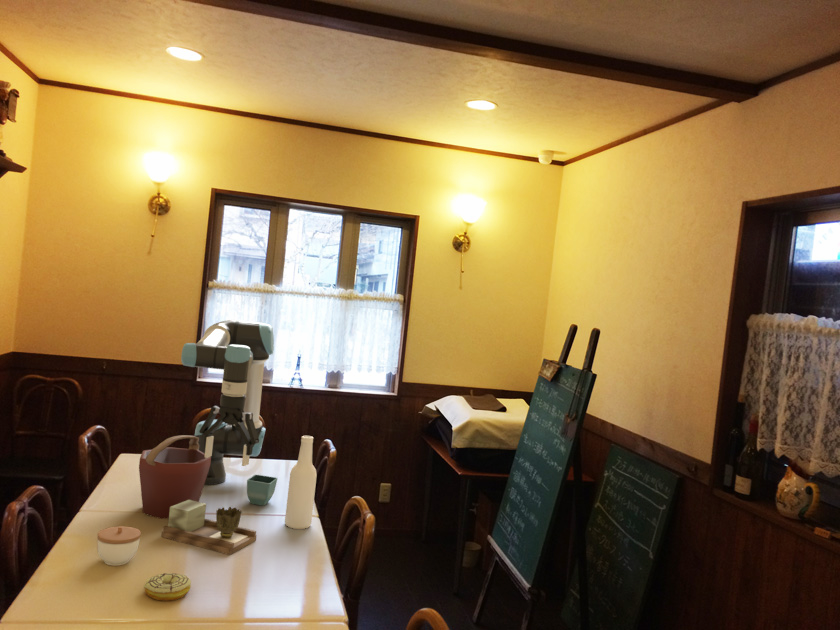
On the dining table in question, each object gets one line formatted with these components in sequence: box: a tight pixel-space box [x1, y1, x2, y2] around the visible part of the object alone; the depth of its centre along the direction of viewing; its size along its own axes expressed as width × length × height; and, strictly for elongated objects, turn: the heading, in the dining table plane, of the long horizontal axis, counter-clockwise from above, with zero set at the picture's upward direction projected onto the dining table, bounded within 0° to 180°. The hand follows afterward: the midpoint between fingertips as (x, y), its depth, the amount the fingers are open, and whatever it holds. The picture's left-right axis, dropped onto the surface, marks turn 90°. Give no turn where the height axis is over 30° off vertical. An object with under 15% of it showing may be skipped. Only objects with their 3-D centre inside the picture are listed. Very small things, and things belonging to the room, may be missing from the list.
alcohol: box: [284, 435, 317, 530], centre depth 225 cm, size 9×9×30 cm
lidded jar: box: [96, 525, 142, 567], centre depth 181 cm, size 11×11×9 cm
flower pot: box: [246, 474, 278, 506], centre depth 243 cm, size 9×9×9 cm
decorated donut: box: [143, 572, 192, 602], centre depth 167 cm, size 10×11×4 cm
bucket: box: [138, 434, 211, 519], centre depth 225 cm, size 24×22×25 cm
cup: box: [215, 506, 242, 538], centre depth 203 cm, size 8×7×8 cm
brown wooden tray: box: [161, 500, 257, 556], centre depth 205 cm, size 24×14×8 cm, turn 72°
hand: (226, 460), depth 211 cm, fingers open, 13 cm apart
